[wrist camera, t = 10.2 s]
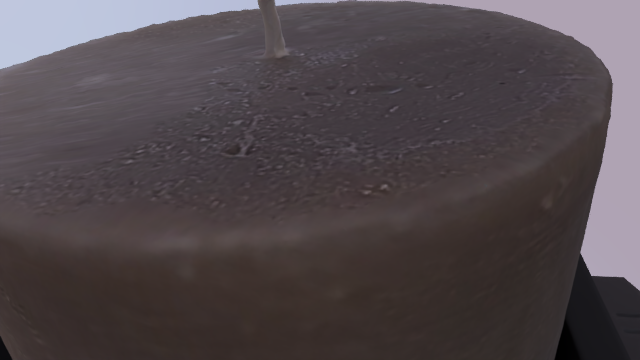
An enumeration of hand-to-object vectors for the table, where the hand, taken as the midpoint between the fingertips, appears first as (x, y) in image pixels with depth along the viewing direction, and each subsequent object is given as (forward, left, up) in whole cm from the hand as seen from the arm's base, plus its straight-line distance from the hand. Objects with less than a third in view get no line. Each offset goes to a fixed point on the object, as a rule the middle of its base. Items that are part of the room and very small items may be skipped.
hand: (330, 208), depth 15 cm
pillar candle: (+2, +4, -8) cm, 9 cm away
